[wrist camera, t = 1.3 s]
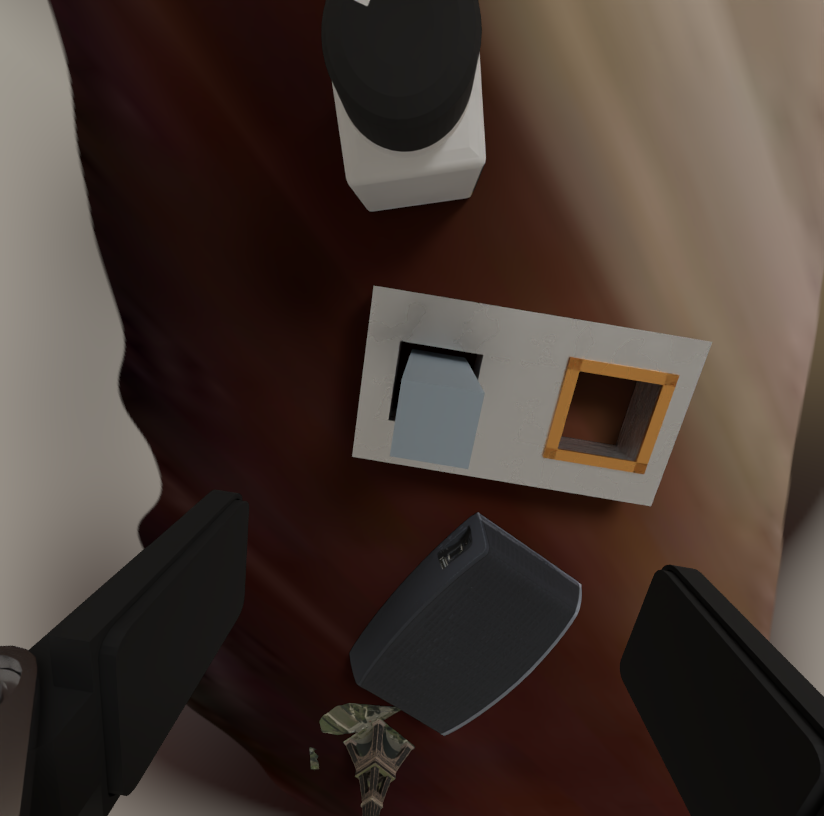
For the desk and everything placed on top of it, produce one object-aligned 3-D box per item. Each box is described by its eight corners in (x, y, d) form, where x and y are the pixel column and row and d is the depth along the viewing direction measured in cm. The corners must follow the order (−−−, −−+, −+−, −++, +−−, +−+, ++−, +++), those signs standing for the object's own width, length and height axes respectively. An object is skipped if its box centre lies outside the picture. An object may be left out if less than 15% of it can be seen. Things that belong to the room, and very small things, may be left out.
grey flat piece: (379, 286, 28) (373, 285, 25) (683, 337, 28) (714, 342, 25) (359, 441, 31) (351, 457, 28) (630, 486, 31) (652, 507, 28)
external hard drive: (586, 584, 35) (606, 621, 31) (450, 710, 40) (452, 756, 36) (470, 502, 33) (475, 531, 29) (343, 644, 38) (333, 685, 34)
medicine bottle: (472, 198, 26) (505, 123, 15) (367, 213, 27) (320, 151, 15) (463, 72, 24) (493, -130, 13) (350, 90, 25) (281, -86, 13)
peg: (412, 348, 29) (401, 379, 19) (465, 357, 29) (484, 393, 19) (403, 400, 30) (389, 456, 20) (455, 408, 30) (468, 469, 20)
